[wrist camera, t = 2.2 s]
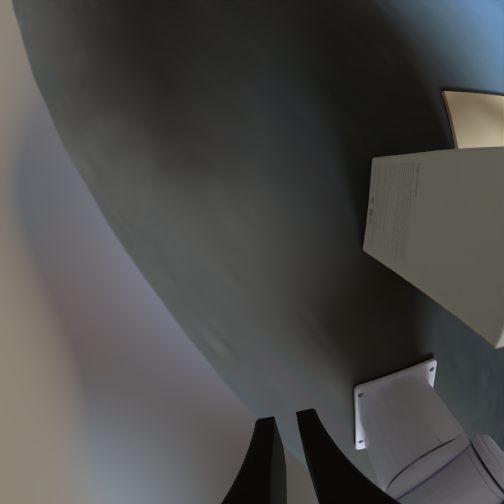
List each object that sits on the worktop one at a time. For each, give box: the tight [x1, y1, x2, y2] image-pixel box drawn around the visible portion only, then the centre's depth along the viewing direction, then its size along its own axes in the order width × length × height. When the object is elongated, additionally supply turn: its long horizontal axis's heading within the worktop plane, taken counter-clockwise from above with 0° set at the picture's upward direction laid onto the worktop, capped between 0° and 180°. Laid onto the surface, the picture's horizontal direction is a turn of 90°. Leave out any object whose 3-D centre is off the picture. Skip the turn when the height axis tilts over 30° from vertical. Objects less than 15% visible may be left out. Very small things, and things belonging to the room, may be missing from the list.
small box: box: [363, 146, 504, 349], centre depth 12 cm, size 8×6×13 cm
